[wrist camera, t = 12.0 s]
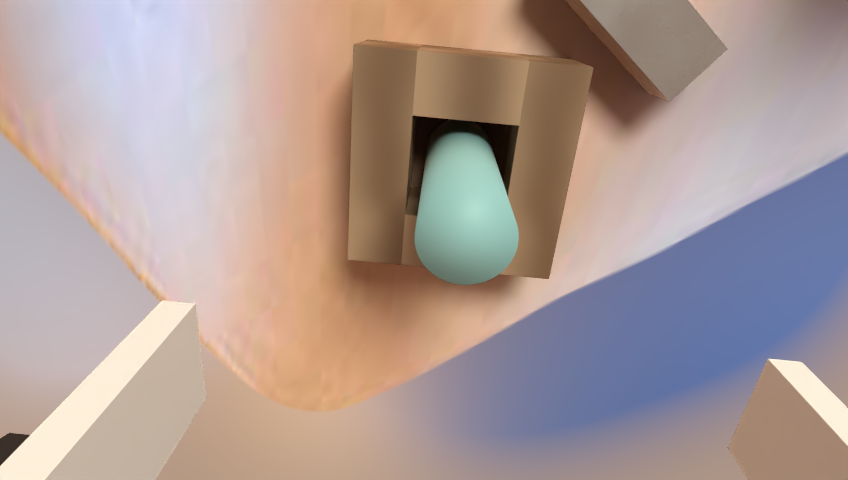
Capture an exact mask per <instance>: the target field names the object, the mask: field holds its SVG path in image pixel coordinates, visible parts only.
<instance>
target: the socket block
mask: <svg viewBox="0 0 848 480" xmlns="http://www.w3.org/2000/svg"><path fill="white" fill-rule="evenodd" d="M593 69H594V67H591V66H589V65H586V64H584V63H581V62H578V61H576V60H573V59H567V58H556V57H545V56H535V55H524V54H514V53H503V52H493V51H482V50H471V49H461V48H450V47H440V46H429V45H418V44H408V43H397V42H387V41H376V40H366V41H363V42H360V43H357V44H354V45H353V83H352V120H351V157H350V195H349V232H348V260H357V261H367V262H378V263H388V264H398V265H409V266H419V267H425V266H424V265H423V263H422V262H421V260H420V258H419V256H418V254H417V251H416V247H415V228H416V222H417V215H418V208H419V201H420V195H421V188H413V187H411V181H412V168H413V155H414V143H415V130H416V117H417V116H423V117H433V118H444V119H454V120H465V121H475V122H486V123H496V124H506V131H505V137H504V144H503V151H502V157H501V164H500V170H499V172H500V175H501V178H502V181H503V184H504V187H505V190H506V193H507V196H508V199H509V202H510V205H511V208H512V211H513V214H514V217H515V220H516V223H517V226H518V232H519V241H518V247H517V251H516V253H515V256H514V257H513V259H512V261H511V262H510V264H509V265H508V266H507V267H506V268H505V269H504V270H503V271H502V272H501V273H500V274H502V275H512V276H523V277H533V278H543V279H549V276H550V271H551V266H552V262H553V257H554V252H555V248H556V243H557V238H558V233H559V229H560V224H561V219H562V215H563V210H564V205H565V200H566V196H567V191H568V186H569V182H570V177H571V172H572V167H573V163H574V158H575V153H576V149H577V144H578V139H579V135H580V130H581V125H582V120H583V116H584V111H585V106H586V102H587V97H588V92H589V87H590V83H591V78H592V73H593Z"/></svg>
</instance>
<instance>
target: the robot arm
mask: <svg viewBox="0 0 848 480" xmlns="http://www.w3.org/2000/svg"><path fill="white" fill-rule="evenodd" d="M205 399H206V388H205V380H204V371H203V363H202V355H201V346H200V338H199V329H198V321H197V313H196V304H193V303H182V302H172V301H161V302H160V303H159V304H158V305H157V306H156V307H155V308H154V309H153V310H152V312H151V313H150V314H149V315H148V316H147V317H146V318H145V319H144V320H143V321H142V322H141V323H140V324H139V325H138V326H137V327H136V328H135V329H134V330H133V331H132V332H131V333H130V334H129V335H128V336H127V337H126V338H125V339H124V340H123V341H122V342H121V343H120V344H119V345H118V346H117V347H116V348H115V349H114V350H113V351H112V352H111V354H110V355H108V356H107V358H106V359H104V360H103V362H102V363H101V364H100V365H99V366H98V367H97V368H96V369H95V370H94V371H93V372H92V373H91V374H90V375H89V376H88V377H87V378H86V379H85V380H84V381H83V382H82V383H81V384H80V385H79V386H78V387H77V388H76V389H75V390H74V391H73V392H72V393H71V394H70V395H69V396H68V397H67V398H66V399H65V400H64V401H63V402H62V403H61V404H60V405H59V406H58V408H57V409H55V411H54V412H53V413H52V414H51V415H50V416H49V417H48V418H47V419H46V420H45V421H44V422H43V423H42V424H41V425H40V426H39V427H38V428H37V429H36V430H35V431H34V432H33V433H32V434H31V435H24V434H14V433H9V434H7V435H5V436H4V437H2V438H1V439H0V480H155V479H156V478H157V477H158V475H159V473H160V472H161V470H162V468H163V467H164V465H165V464H166V462H167V460H168V459H169V457H170V456H171V454H172V452H173V451H174V449H175V447H176V446H177V444H178V443H179V441H180V439H181V438H182V436H183V435H184V433H185V431H186V430H187V428H188V427H189V425H190V423H191V422H192V420H193V419H194V417H195V415H196V414H197V412H198V410H199V409H200V407H201V406H202V404H203V402H204V401H205ZM728 449H729V451H730V452H731V454H732V455H733V457H734V459H735V460H736V462H737V463H738V465H739V466H740V468H741V469H742V471H743V473H744V474H745V475H746V477H747V479H748V480H848V408H847V407H846V406H845V405H844V404H843V403H842V402H841V401H840V400H839V399H838V398H837V397H836V396H835V395H834V394H833V393H832V392H831V391H830V390H829V389H828V388H827V387H826V386H825V385H824V384H823V383H822V382H821V381H820V380H819V379H818V378H817V377H816V376H815V375H814V374H813V373H812V372H811V371H810V370H809V369H808V368H807V367H806V366H805V365H804V364H803V363H802V362H797V361H786V360H776V359H768V360H767V362H766V364H765V366H764V368H763V371H762V373H761V375H760V378H759V380H758V382H757V384H756V386H755V388H754V391H753V393H752V395H751V397H750V399H749V402H748V404H747V406H746V408H745V411H744V413H743V415H742V417H741V420H740V422H739V424H738V426H737V428H736V430H735V433H734V435H733V437H732V439H731V442H730V444H729V446H728Z"/></svg>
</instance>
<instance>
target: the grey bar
mask: <svg viewBox="0 0 848 480" xmlns="http://www.w3.org/2000/svg"><path fill="white" fill-rule="evenodd" d="M565 1H566V2H567V3H568V4H569V6H570V7H571V8H572V9H573V10H574V11H575V12H576V13H577V15H578V16H579V17H580V18H581V19H582V20H583V21H584V22H585V24H586V25H587V26H588V27H589V28H590V29H591V30H592V31H593V33H594V34H595V35H596V36H597V37H598V38H599V39H600V40H601V41H602V43H603V44H604V45H605V46H606V47H607V48H608V49H609V50H610V52H611V53H612V54H613V55H614V56H615V57H616V58H617V59H618V61H619V62H620V63H621V64H622V65H623V66H624V67H625V68H626V69H627V71H628V72H629V73H630V74H631V75H632V76H633V77H634V78H635V80H636V81H637V82H638V83H639V84H640V85H641V86H642V87H643V89H644V90H645V91H646V92H647V93H649V94H652V95H654V96H657V97H659V98H662V99H664V100H667V101H671V100H672V99H673V98H674V97H675V96H676V95H677V94H678V93H679V92H681V91H682V90H683V89H684V88H685V87H686V86H687V85H688V84H689V83H691V82H692V81H693V80H694V79H695V78H696V77H697V76H698V75H700V74H701V73H702V72H703V71H704V70H705V69H706V68H707V67H708V66H710V65H711V64H712V63H713V62H714V61H715V60H716V59H717V58H718V57H720V56H721V55H722V54H723V53H724V52H725V51H726V50H727V48H726V46H725V45H724V44H723V43H722V42H721V40H720V39H719V38H718V37H717V35H716V34H715V33H714V32H713V30H712V29H711V28H710V27H709V26H708V24H707V23H706V22H705V21H704V19H703V18H702V17H701V16H700V14H699V13H698V12H697V11H696V10H695V8H694V7H693V6H692V5H691V3H690V2H689V1H688V0H565Z"/></svg>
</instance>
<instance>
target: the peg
mask: <svg viewBox="0 0 848 480" xmlns="http://www.w3.org/2000/svg"><path fill="white" fill-rule="evenodd" d="M518 241H519V232H518V226H517V223H516V220H515V217H514V214H513V211H512V208H511V205H510V202H509V199H508V196H507V193H506V190H505V187H504V184H503V181H502V178H501V175H500V172H499V169H498V166H497V163H496V160H495V157H494V154H493V150H492V147H491V144H490V141H489V139H488V136H487V134H486V133H485V131H484V130H483V129H482V128H481V127H480V126H479V125H478V124H476V123H475V122H473V121H465V120H454V119H452V120H449V121H446V122H444V123H442V124H441V125H440V126H438V127H437V128H436V129H435V130H434V132H433V133H432V135H431V137H430V139H429V142H428V148H427V154H426V161H425V168H424V174H423V181H422V188H421V195H420V201H419V208H418V215H417V222H416V228H415V247H416V251H417V254H418V256H419V258H420V260H421V262H422V263H423V265H424V266H425V267H426V268H427V269H428V270H429V271H430V272H431V273H432V274H433V275H435V276H436V277H438V278H440V279H442V280H444V281H446V282H449V283H453V284H459V285H473V284H479V283H482V282H485V281H488V280H490V279H492V278H494V277H496V276H497V275H499V274H500V273H501V272H502V271H503V270H504V269H505V268H506V267H507V266H508V265H509V264H510V262H511V261H512V259H513V257H514V256H515V253H516V251H517V247H518Z"/></svg>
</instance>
